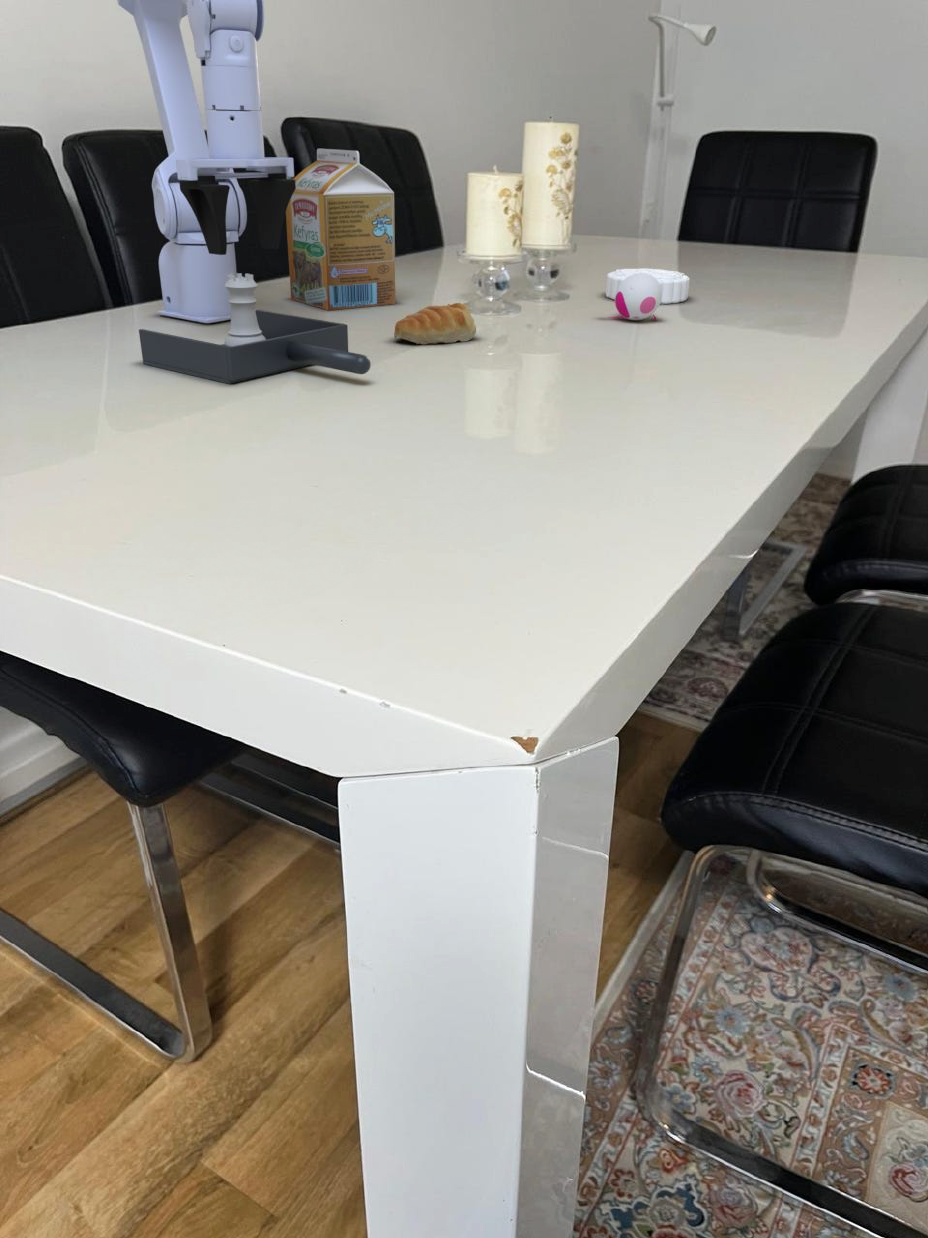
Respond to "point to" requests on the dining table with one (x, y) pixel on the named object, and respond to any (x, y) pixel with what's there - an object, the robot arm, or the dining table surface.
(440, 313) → the pastry
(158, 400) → the dining table surface
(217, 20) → the robot arm
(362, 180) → the milk carton
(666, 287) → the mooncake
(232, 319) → the rook chess piece
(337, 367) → the scoop
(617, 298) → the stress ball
